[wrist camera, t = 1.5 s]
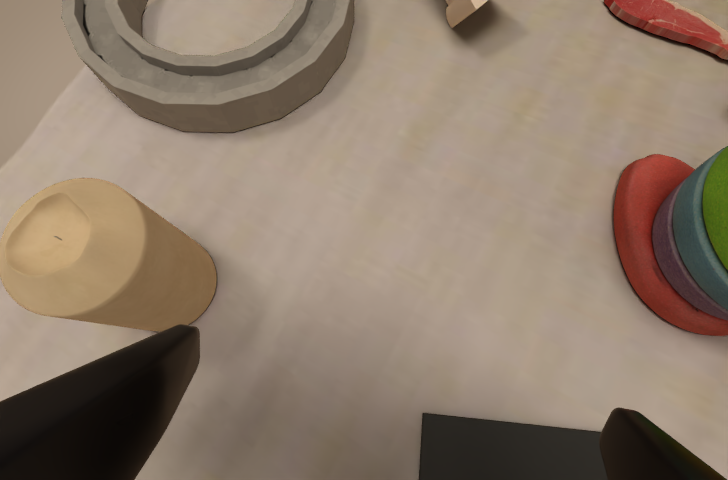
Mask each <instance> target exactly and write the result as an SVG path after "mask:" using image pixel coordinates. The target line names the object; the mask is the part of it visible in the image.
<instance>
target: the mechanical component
mask: <svg viewBox="0 0 728 480" xmlns="http://www.w3.org/2000/svg"><path fill="white" fill-rule="evenodd" d="M147 2H148V0H62V16H61V18H62V20H63V22H64V25H65V27H66V29H67V31H68V34H69V36H70V38H71V40H72V43H73V45H74V47H75V50H76V52H77V54H78V56H79V57H80V58H81V59H82V60H83V62H84V63H85V64H86V65H87V66H88V67H89V68H90V69H91V70H92V71H93V72H94V74H95V75H96V76H97V77H98V78H99V79H100V80H101V81H102V82H103V83H104V84H105V86H106V87H107V88H108V89H110V90H111V91H112V92H113V93H114V94H115V95H116V96H118V97H119V98H120V99H121V100H122V101H123V102H124V103H126V104H127V105H128V106H129V107H130V108H131V109H132V110H134V111H135V112H136V113H137V114H138V115H139V116H142V117H145V118H148V119H150V120H153V121H156V122H159V123H162V124H164V125H167V126H170V127H173V128H175V129H178V130H181V131H191V132H236V131H239V130H243V129H246V128H250V127H253V126H257V125H260V124H264V123H267V122H270V121H274V120H277V119H281V118H282V117H284V116H285V115H287V114H288V113H290V112H291V111H293V110H294V109H296V108H297V107H299V106H300V105H302V104H303V103H305V102H306V101H308V100H309V99H311V98H312V97H314V96H315V95H317V94H318V93H320V91H321V90H322V89H323V87H324V86H325V85H326V83H327V82H328V81H329V79H330V78H331V76H332V75H333V74H334V72H335V71H336V70H337V68H338V67H339V66H340V64H341V63H342V62H343V60H344V59H345V56H346V52H347V48H348V44H349V40H350V36H351V32H352V28H353V24H354V0H295V2H294V5H293V8H292V9H291V10H290V11H289V13H288V14H287V15H286V16H285V18H284V19H283V20H282V21H281V23H280V24H279V25H278V26H277V27H276V29H275V30H274V31H272V32H270V33H269V34H267V35H266V36H264V37H262V38H261V39H259V40H257V41H256V42H254V43H253V44H251V45H249V46H248V47H245V48H241V49H238V50H234V51H230V52H226V53H223V54H219V55H215V56H205V55H179V54H176V53H174V52H171V51H168V50H165V49H162V48H159V47H156V46H153V45H150V44H149V43H148V42H147V41H146V40H144V39H143V38H142V27H141V16H142V14H143V11H144V9H145V7H146V4H147Z"/></svg>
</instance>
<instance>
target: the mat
mask: <svg viewBox="0 0 728 480" xmlns="http://www.w3.org/2000/svg"><path fill="white" fill-rule="evenodd" d="M600 434H601V432H596V431H587V430H577V429H568V428H559V427H549V426H540V425H531V424H521V423H512V422H503V421H493V420H484V419H475V418H465V417H456V416H447V415H437V414H428V413H423V418H422V436H421V454H420V471H419V480H608V478H607V475H606V471H605V467H604V463H603V459H602V456H601V452H600V447H599V437H600Z"/></svg>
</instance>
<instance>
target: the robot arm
mask: <svg viewBox="0 0 728 480" xmlns="http://www.w3.org/2000/svg"><path fill="white" fill-rule="evenodd" d="M199 359H200V333H199V329H198V328H197V327H194V326H189V325H184V324H178V325H176V326H173V327H171V328H169V329H166V330H164V331H162V332H160V333H157V334H155V335H153V336H150V337H148V338H146V339H143V340H141V341H139V342H136V343H134V344H132V345H130V346H127V347H125V348H123V349H120V350H118V351H116V352H113V353H111V354H109V355H107V356H104V357H102V358H100V359H97V360H95V361H93V362H90V363H88V364H86V365H83V366H81V367H79V368H77V369H74V370H72V371H70V372H67V373H65V374H63V375H60V376H58V377H56V378H53V379H51V380H49V381H47V382H44V383H42V384H40V385H37V386H35V387H33V388H30V389H28V390H26V391H23V392H21V393H19V394H17V395H14V396H12V397H10V398H7V399H5V400H3V401H1V402H0V480H135V478H136V476H137V475H138V473H139V472H140V470H141V469H142V467H143V466H144V464H145V462H146V461H147V459H148V458H149V456H150V455H151V453H152V451H153V450H154V448H155V447H156V445H157V444H158V442H159V440H160V439H161V437H162V436H163V434H164V432H165V430H166V429H167V427H168V425H169V423H170V421H171V419H172V417H173V415H174V413H175V411H176V409H177V407H178V405H179V403H180V401H181V399H182V397H183V395H184V393H185V391H186V389H187V387H188V385H189V383H190V381H191V379H192V377H193V375H194V373H195V371H196V369H197V367H198V364H199ZM599 447H600V452H601V456H602V459H603V463H604V467H605V471H606V475H607V478H608V480H727V479H726V478H724V477H723V476H722V475H720V474H719V473H718V472H716V471H715V470H714V469H712V468H711V467H710V466H709V465H707V464H706V463H705V462H703V461H702V460H701V459H699V458H698V457H697V456H695V455H694V454H693V453H692V452H690V451H689V450H688V449H686V448H685V447H684V446H682V445H681V444H680V443H678V442H677V441H676V440H675V439H673V438H672V437H671V436H669V435H668V434H667V433H665V432H664V431H663V430H661V429H660V428H659V427H658V426H656V425H655V424H654V423H652V422H651V421H650V420H648V419H647V418H646V417H644V416H643V415H642V414H641V413H639V412H637V411H634V410H629V409H624V408H615V409H614V410H613V411H612V412H611V414H610V416H609V418H608V420H607V422H606V424H605V426H604V428H603V430H602V432H601V434H600V437H599Z"/></svg>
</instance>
